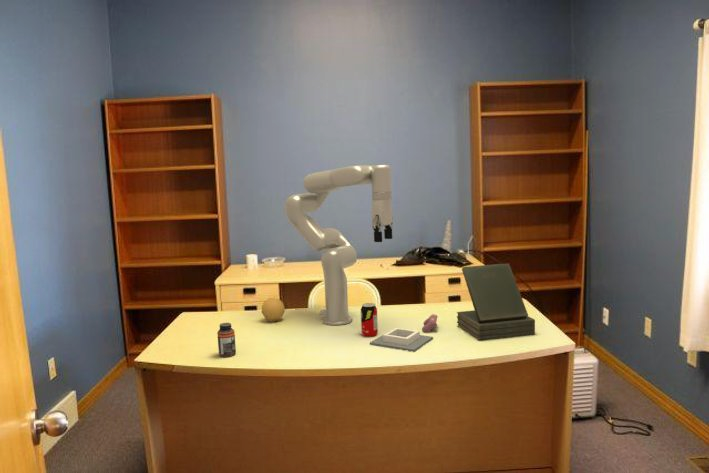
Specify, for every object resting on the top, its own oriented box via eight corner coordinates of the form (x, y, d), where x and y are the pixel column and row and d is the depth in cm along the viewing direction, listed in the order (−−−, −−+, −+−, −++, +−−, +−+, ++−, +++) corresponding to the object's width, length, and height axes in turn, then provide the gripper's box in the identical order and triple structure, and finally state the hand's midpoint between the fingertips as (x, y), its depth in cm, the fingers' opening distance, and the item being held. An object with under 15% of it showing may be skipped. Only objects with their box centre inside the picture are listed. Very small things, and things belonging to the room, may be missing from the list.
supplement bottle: (220, 352, 189) (218, 322, 188) (237, 351, 189) (235, 321, 188) (217, 358, 183) (215, 326, 182) (234, 357, 184) (232, 325, 182)
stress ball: (285, 324, 225) (291, 305, 232) (274, 311, 219) (280, 292, 226) (266, 326, 229) (271, 307, 236) (254, 313, 223) (261, 294, 229)
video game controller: (431, 336, 203) (439, 321, 202) (420, 331, 203) (428, 315, 202) (432, 329, 212) (440, 314, 211) (422, 324, 213) (430, 309, 212)
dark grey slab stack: (478, 341, 191) (477, 274, 188) (456, 327, 210) (456, 265, 207) (535, 335, 196) (535, 270, 193) (509, 321, 215) (509, 261, 212)
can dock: (369, 344, 192) (369, 335, 191) (390, 332, 205) (390, 324, 204) (414, 352, 182) (414, 342, 181) (433, 338, 195) (432, 330, 195)
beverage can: (368, 331, 208) (367, 301, 206) (381, 334, 204) (380, 304, 202) (358, 335, 203) (357, 305, 201) (371, 338, 199) (370, 307, 197)
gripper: (382, 195, 213) (383, 237, 215) (363, 198, 198) (365, 243, 200) (399, 195, 210) (400, 237, 212) (381, 197, 194) (383, 243, 196)
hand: (383, 240), depth 206 cm, fingers open, 9 cm apart
